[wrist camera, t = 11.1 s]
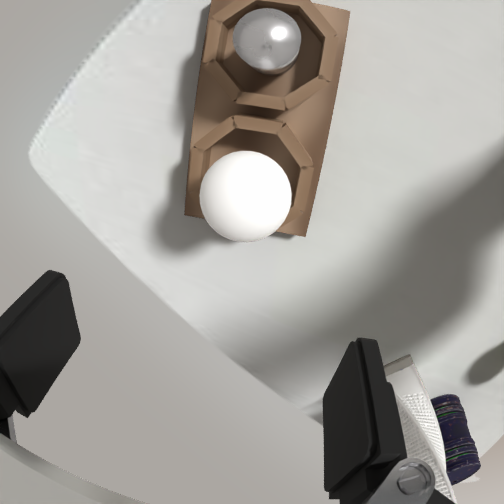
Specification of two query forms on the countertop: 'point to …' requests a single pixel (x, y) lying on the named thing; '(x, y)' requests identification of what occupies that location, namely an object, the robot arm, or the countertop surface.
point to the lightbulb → (245, 196)
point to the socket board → (268, 102)
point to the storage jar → (456, 438)
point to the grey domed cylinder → (267, 41)
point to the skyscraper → (419, 421)
